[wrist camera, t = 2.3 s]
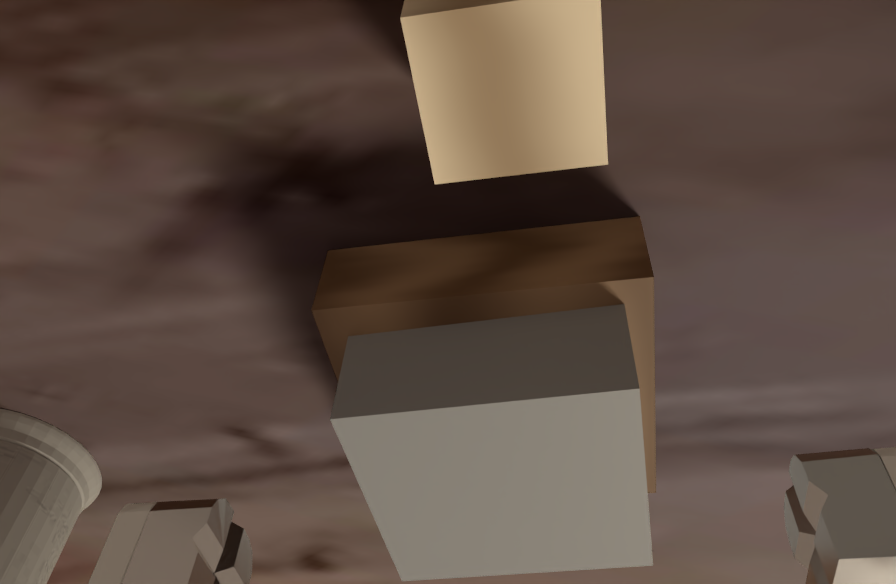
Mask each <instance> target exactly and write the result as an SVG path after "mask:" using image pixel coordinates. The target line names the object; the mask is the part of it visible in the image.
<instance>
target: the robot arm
mask: <svg viewBox="0 0 896 584" xmlns="http://www.w3.org/2000/svg"><path fill="white" fill-rule="evenodd" d="M789 474H790V477H791V480H792V482H793V486H792V487H791V488H789V489H788V490H787V491H786V492H785V501H784V515H785V526H786V531H787V535H788V539H789V543H790V546H791V549H792V552H793V556H794V559H795V560H797V561H798V562H799V563H800V564H801V565H803V566H804V567H805V568H806V569H807V570H808V573H807V578H806V584H896V447H890V448H879V449H869V448H865V449H854V450H843V451H831V452H820V453H809V454H798V455H794V456H793V458H792V459H791V462H790V467H789ZM233 513H234V511H233V509H232V507H231V506H230V504H229V503H228V501H227V500H226V498H224V499H205V500H186V501H168V502H148V503H134V504H126V505H125V507H124V508H123V509H122V510H121V511H120V512H119V513H118V515H117V517H116V519H115V521H114V524H113V526H112V529H111V531H110V533H109V536H108V538H107V540H106V543H105V545H104V547H103V550H102V552H101V554H100V557H99V559H98V562H97V564H96V566H95V569H94V571H93V573H92V576H91V578H90V580H89V583H88V584H249V582H250V578H251V574H252V549H251V545H250V540H249V538H248V536H247V534H246V532H245V530H244V529H243V528H241V527H240V526H238V525H236V524H234V523H233V522H231V520H232V517H233Z"/></svg>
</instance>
